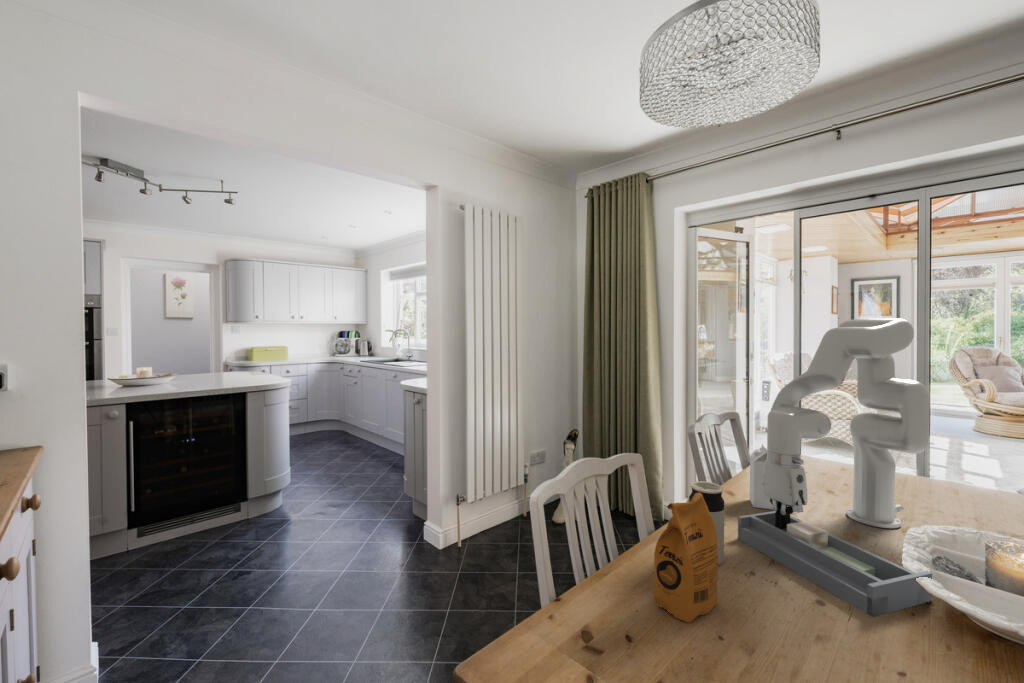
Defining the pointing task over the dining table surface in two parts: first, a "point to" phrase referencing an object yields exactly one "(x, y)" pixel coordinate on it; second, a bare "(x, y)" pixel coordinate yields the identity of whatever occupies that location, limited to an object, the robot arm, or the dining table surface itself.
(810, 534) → the block
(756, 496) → the milk carton
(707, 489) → the travel mug
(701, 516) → the coffee package
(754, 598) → the dining table surface
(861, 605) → the box
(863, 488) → the robot arm
